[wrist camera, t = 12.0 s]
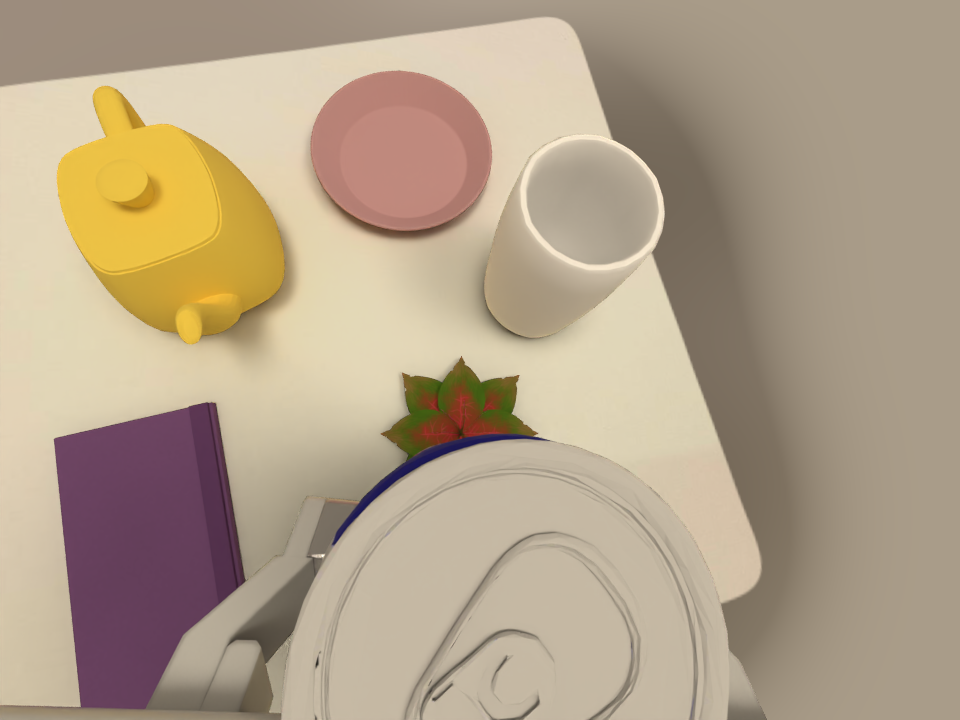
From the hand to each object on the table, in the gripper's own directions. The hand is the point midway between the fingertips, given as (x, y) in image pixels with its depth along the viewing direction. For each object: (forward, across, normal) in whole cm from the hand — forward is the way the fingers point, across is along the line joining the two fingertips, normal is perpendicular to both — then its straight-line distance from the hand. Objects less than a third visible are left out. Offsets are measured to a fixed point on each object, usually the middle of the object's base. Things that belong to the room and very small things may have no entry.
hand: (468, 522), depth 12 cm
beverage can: (+6, 0, +6) cm, 9 cm away
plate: (+33, +6, -3) cm, 33 cm away
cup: (+26, -6, +5) cm, 27 cm away
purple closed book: (+10, +18, +20) cm, 29 cm away
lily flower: (+17, -1, +13) cm, 22 cm away
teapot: (+25, +18, +6) cm, 31 cm away
